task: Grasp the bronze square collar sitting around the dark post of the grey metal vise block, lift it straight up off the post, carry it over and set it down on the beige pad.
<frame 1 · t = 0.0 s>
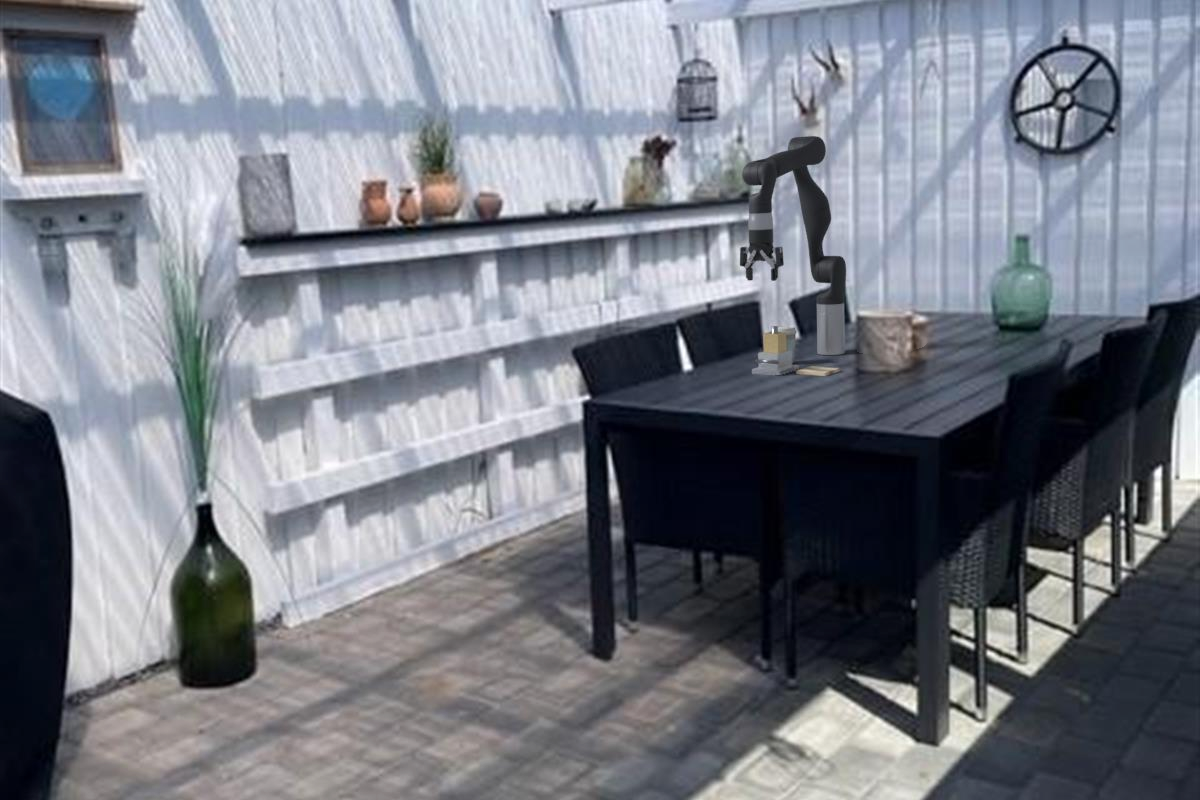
hand: (761, 280, 399), 29 cm above the table, fingers open, 8 cm apart
coffee cup: (784, 364, 422), on the table
collar: (775, 351, 405), point 6 cm above the table, touching vise block
vise block: (775, 371, 406), on the table
beige pad: (818, 372, 401), on the table
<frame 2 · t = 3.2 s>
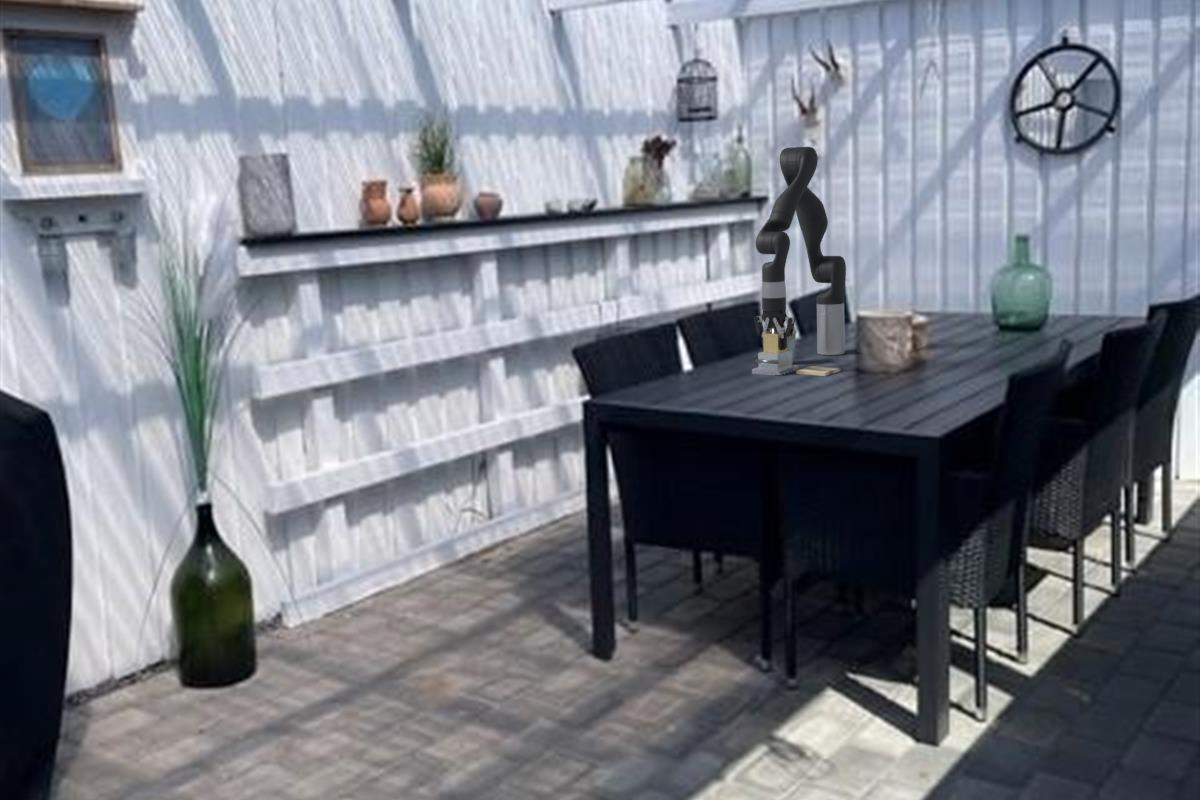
hand: (774, 349, 405), 7 cm above the table, fingers closed on collar, 5 cm apart
collar: (775, 351, 405), point 7 cm above the table, touching gripper, vise block
everything else where it was.
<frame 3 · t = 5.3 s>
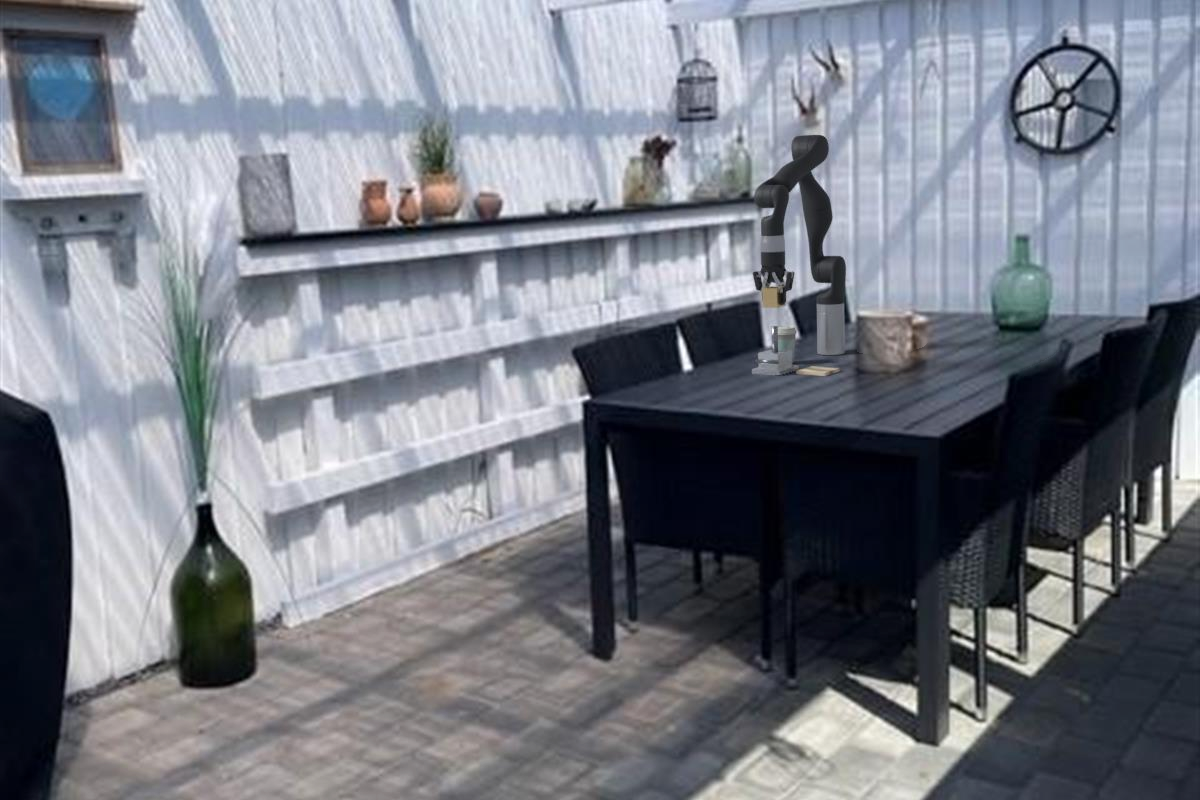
hand: (774, 304, 402), 21 cm above the table, fingers closed on collar, 5 cm apart
collar: (774, 306, 402), point 21 cm above the table, touching gripper
everything else where it was.
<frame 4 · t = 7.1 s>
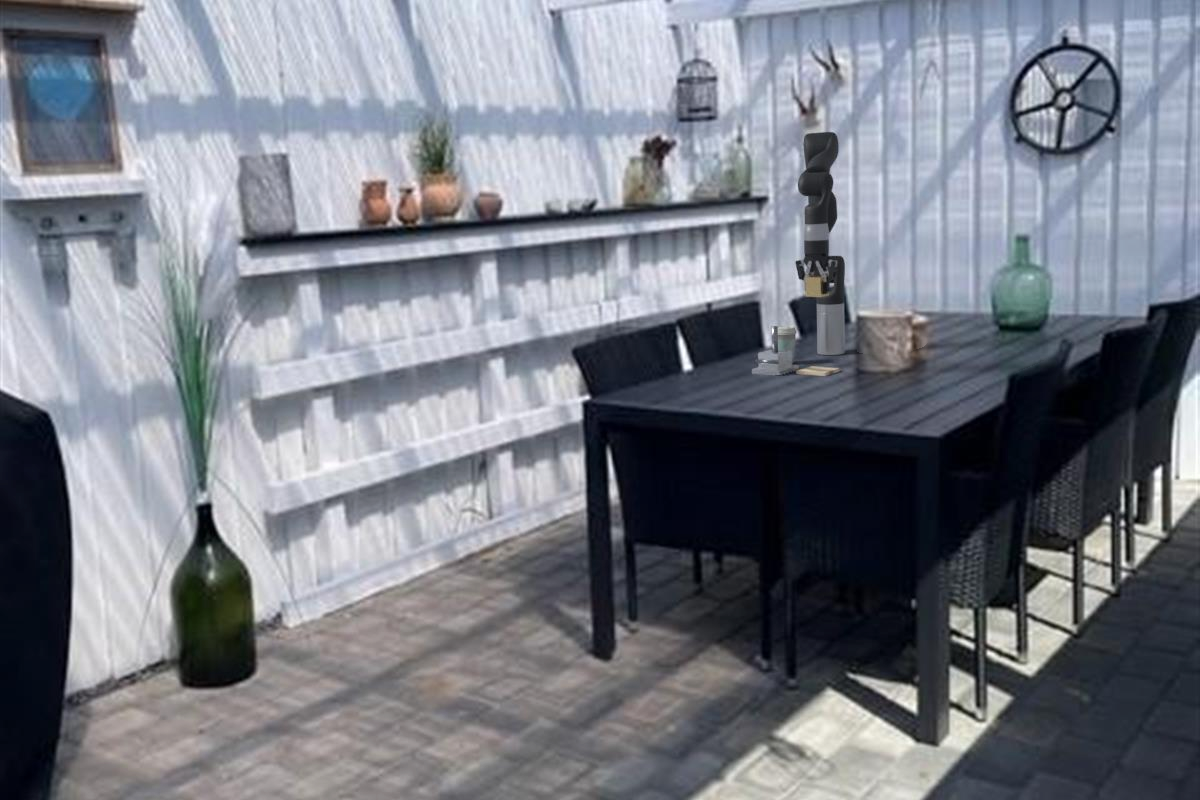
hand: (817, 293, 397), 25 cm above the table, fingers closed on collar, 5 cm apart
collar: (817, 296, 397), point 24 cm above the table, touching gripper
everything else where it was.
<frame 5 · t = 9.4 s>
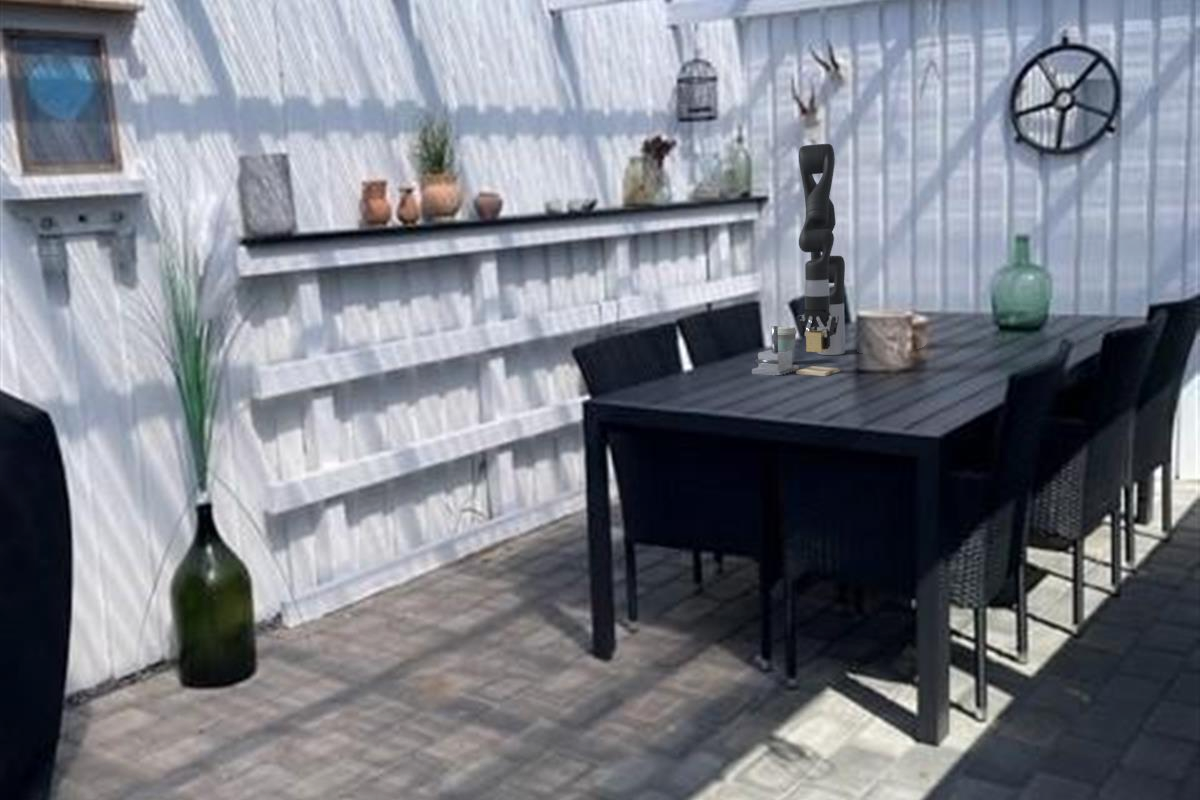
hand: (817, 348, 400), 8 cm above the table, fingers closed on collar, 5 cm apart
collar: (817, 350, 400), point 7 cm above the table, touching gripper
everything else where it was.
when the fingers open (3 cm above the table, at t = 11.2 s): collar drops 1 cm, resting on beige pad.
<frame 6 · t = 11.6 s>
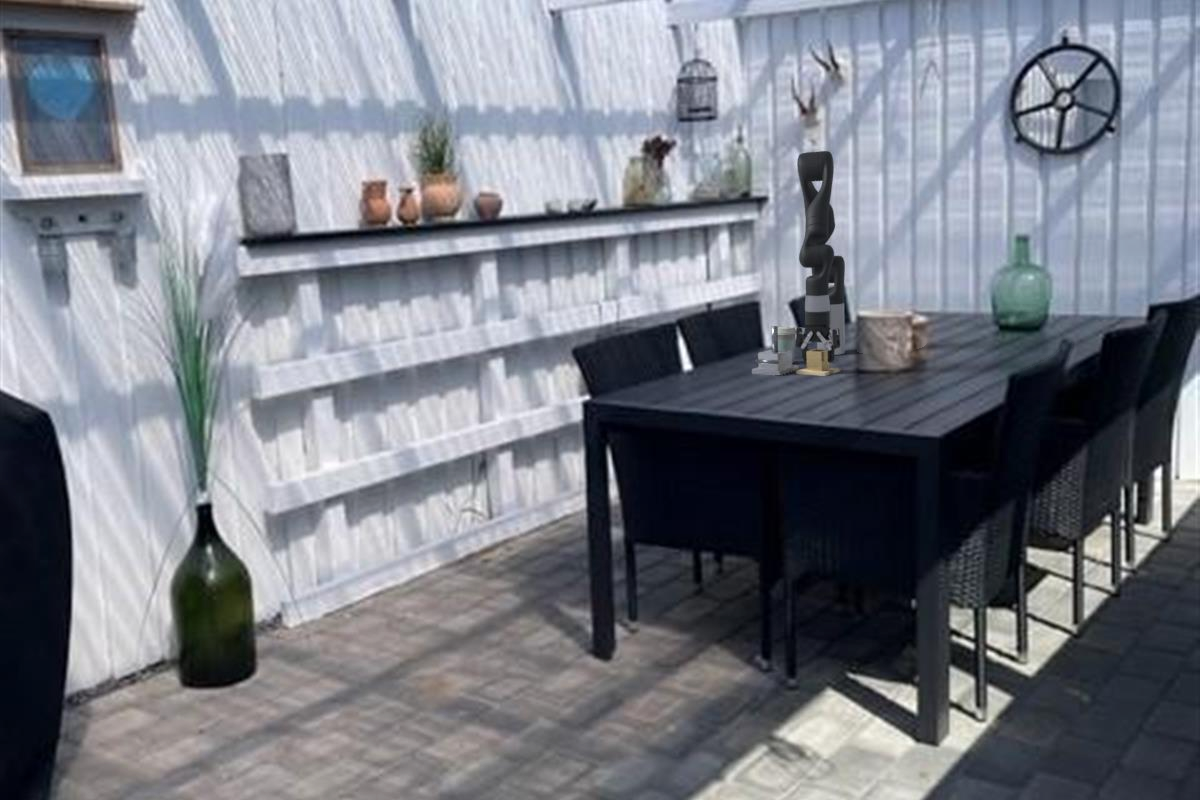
hand: (818, 361, 401), 4 cm above the table, fingers open, 8 cm apart
collar: (818, 369, 401), point 1 cm above the table, touching beige pad
everything else where it was.
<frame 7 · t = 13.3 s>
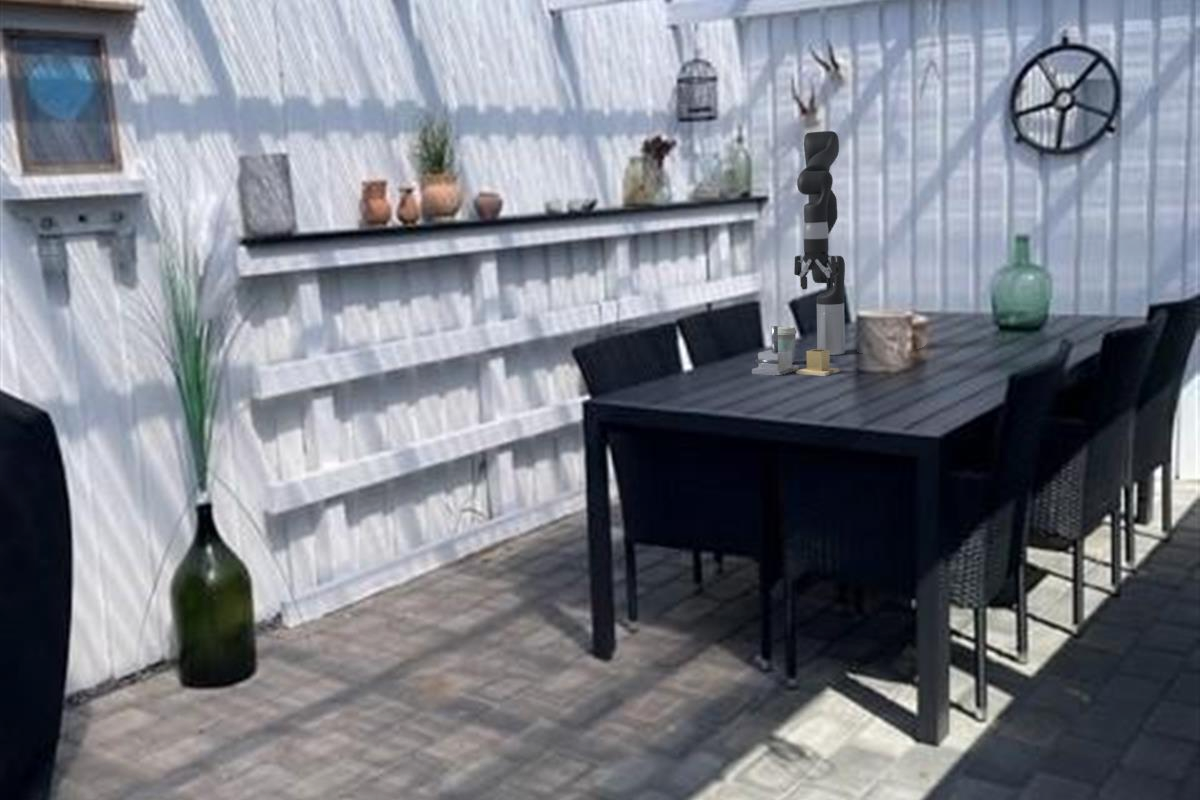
hand: (816, 289, 398), 26 cm above the table, fingers open, 8 cm apart
nothing on the table moved.
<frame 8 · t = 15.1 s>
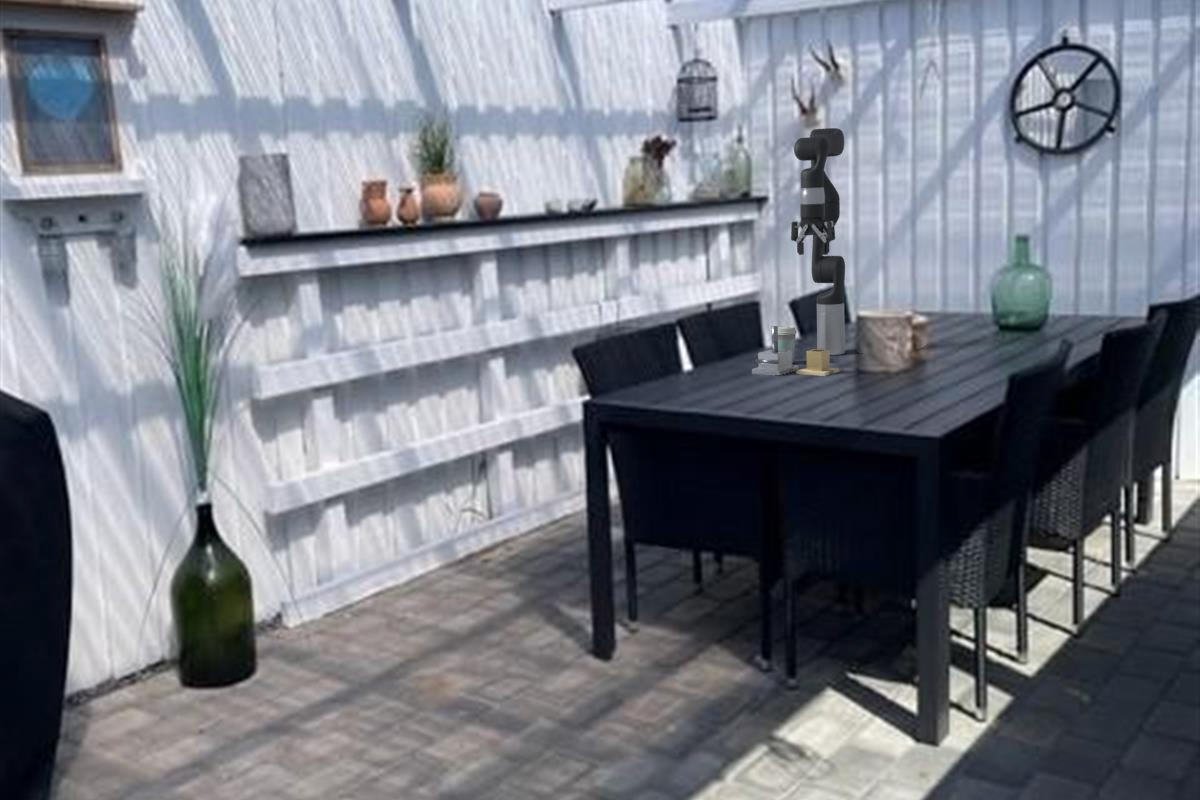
hand: (813, 254, 403), 36 cm above the table, fingers open, 8 cm apart
nothing on the table moved.
at the end: collar inside the target area on the beige pad (0.0 cm from its centre), point 1.0 cm above the beige pad's base; collar touching beige pad; the gripper is holding nothing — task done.
